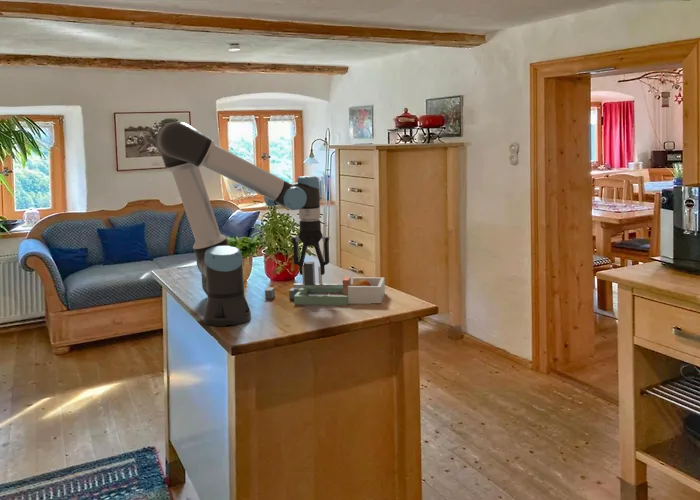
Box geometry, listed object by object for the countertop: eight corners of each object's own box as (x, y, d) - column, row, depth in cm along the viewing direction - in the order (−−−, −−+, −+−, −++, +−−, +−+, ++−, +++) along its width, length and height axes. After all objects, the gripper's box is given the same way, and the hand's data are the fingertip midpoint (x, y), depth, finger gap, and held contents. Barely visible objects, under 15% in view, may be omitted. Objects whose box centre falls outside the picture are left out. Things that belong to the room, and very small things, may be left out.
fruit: (373, 298, 223) (361, 278, 223) (355, 308, 226) (343, 289, 226) (379, 292, 231) (367, 273, 230) (361, 302, 233) (350, 283, 233)
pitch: (260, 304, 225) (259, 295, 224) (273, 291, 243) (273, 282, 242) (347, 305, 221) (347, 296, 220) (354, 291, 238) (354, 283, 238)
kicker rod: (292, 298, 230) (290, 264, 227) (296, 294, 235) (294, 261, 233) (348, 298, 227) (347, 264, 224) (351, 294, 232) (350, 261, 230)
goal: (348, 303, 223) (347, 286, 221) (353, 293, 237) (353, 277, 235) (381, 303, 221) (380, 287, 220) (384, 293, 235) (384, 277, 234)
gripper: (282, 221, 224) (285, 285, 228) (333, 221, 221) (335, 286, 226) (287, 218, 231) (290, 280, 236) (336, 217, 229) (339, 281, 233)
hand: (312, 283), depth 231 cm, fingers open, 5 cm apart
